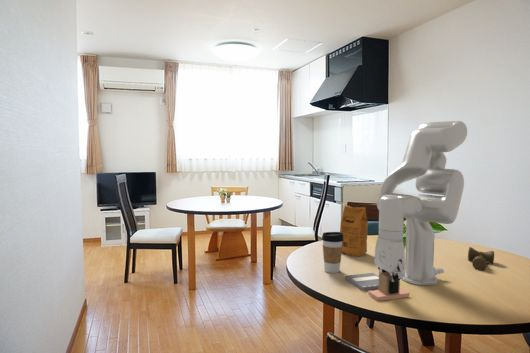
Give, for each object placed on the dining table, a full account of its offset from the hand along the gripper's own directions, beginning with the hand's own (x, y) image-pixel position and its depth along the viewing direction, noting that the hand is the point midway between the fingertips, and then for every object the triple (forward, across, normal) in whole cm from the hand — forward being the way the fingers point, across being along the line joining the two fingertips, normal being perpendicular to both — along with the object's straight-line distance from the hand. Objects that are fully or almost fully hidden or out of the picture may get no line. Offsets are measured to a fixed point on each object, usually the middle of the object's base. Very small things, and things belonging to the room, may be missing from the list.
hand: (388, 289), depth 115 cm
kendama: (+2, -20, +59) cm, 62 cm away
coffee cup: (+2, -28, -6) cm, 29 cm away
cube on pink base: (+2, 0, 0) cm, 2 cm away
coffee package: (+2, -48, +14) cm, 50 cm away
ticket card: (+2, -12, 0) cm, 12 cm away
